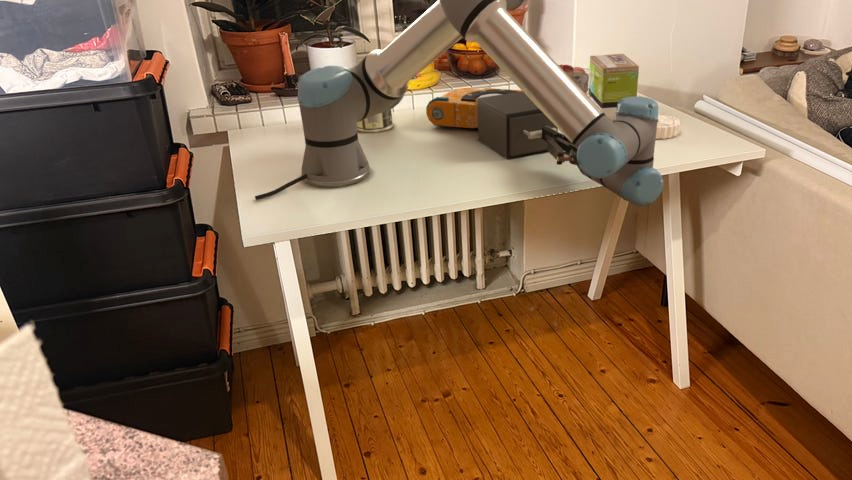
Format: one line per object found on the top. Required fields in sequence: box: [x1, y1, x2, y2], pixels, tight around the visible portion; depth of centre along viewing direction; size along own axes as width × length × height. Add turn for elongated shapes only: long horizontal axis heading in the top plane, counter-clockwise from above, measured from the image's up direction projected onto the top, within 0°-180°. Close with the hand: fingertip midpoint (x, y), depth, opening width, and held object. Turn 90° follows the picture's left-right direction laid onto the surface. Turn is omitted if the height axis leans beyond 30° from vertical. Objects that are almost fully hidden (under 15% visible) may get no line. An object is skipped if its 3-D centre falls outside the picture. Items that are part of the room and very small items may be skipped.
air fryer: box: [477, 91, 549, 159], centre depth 173 cm, size 16×14×11 cm
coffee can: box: [357, 109, 394, 133], centre depth 188 cm, size 10×10×14 cm
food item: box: [558, 63, 589, 94], centre depth 210 cm, size 14×8×10 cm, turn 121°
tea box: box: [588, 53, 640, 121], centre depth 194 cm, size 15×10×15 cm, turn 6°
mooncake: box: [655, 112, 681, 140], centre depth 181 cm, size 12×12×4 cm
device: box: [425, 87, 522, 129], centre depth 191 cm, size 23×8×30 cm
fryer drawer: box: [509, 112, 559, 156], centre depth 170 cm, size 19×13×9 cm, turn 26°
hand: (544, 132), depth 161 cm, fingers closed
